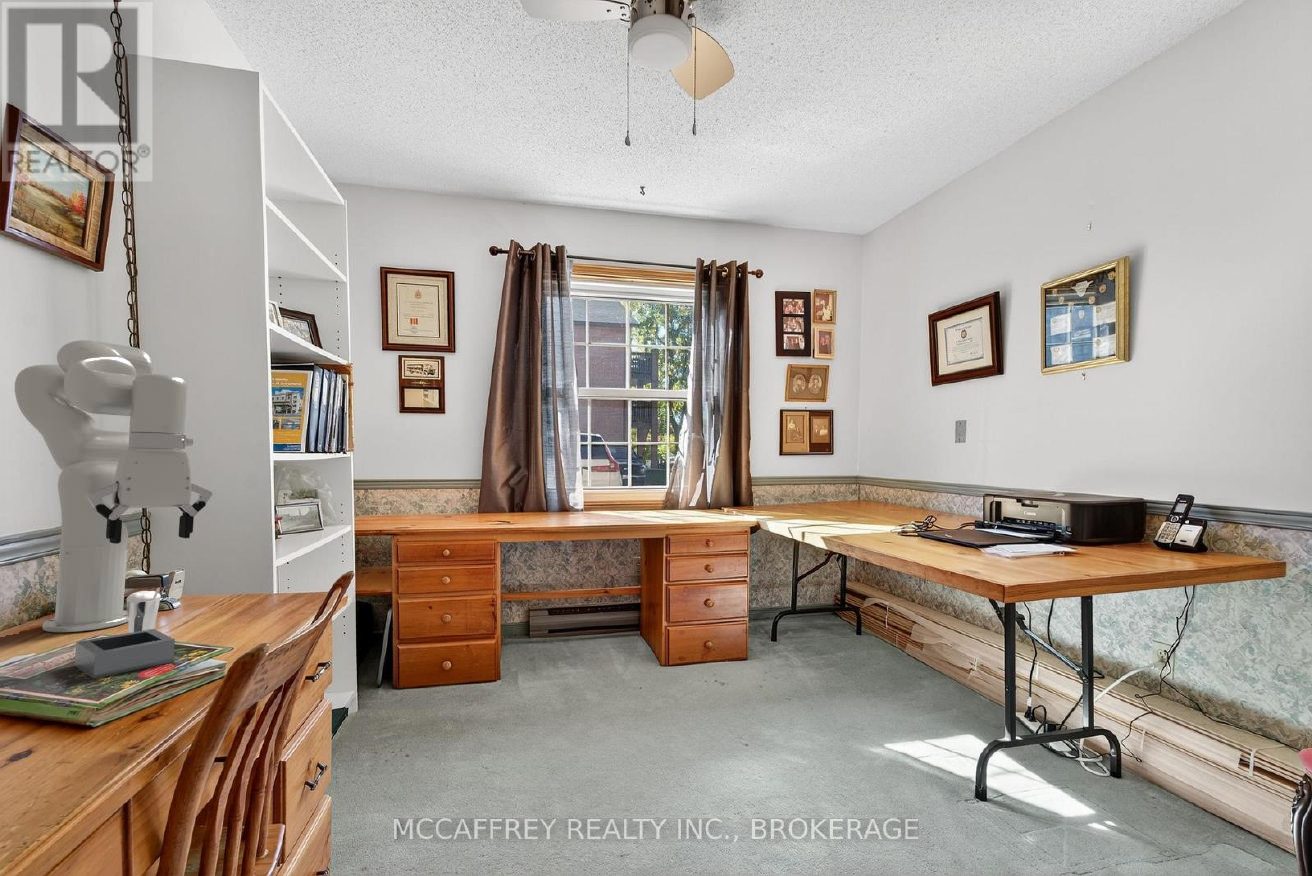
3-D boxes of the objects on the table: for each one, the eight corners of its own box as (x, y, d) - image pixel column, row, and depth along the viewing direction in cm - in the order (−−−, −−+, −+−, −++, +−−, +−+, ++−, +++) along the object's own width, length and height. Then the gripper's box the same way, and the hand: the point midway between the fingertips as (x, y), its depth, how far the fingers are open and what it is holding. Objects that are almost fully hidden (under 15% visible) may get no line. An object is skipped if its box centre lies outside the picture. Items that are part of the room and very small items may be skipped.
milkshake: (141, 649, 100) (145, 590, 101) (116, 646, 101) (120, 588, 102) (168, 641, 105) (171, 585, 105) (144, 638, 106) (147, 583, 106)
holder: (74, 665, 92) (76, 642, 92) (151, 650, 100) (153, 628, 100) (93, 679, 87) (95, 654, 87) (173, 661, 95) (174, 639, 95)
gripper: (205, 446, 114) (200, 534, 113) (84, 441, 99) (77, 543, 98) (222, 445, 110) (217, 537, 109) (98, 441, 95) (91, 547, 94)
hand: (150, 540), depth 104 cm, fingers open, 9 cm apart
